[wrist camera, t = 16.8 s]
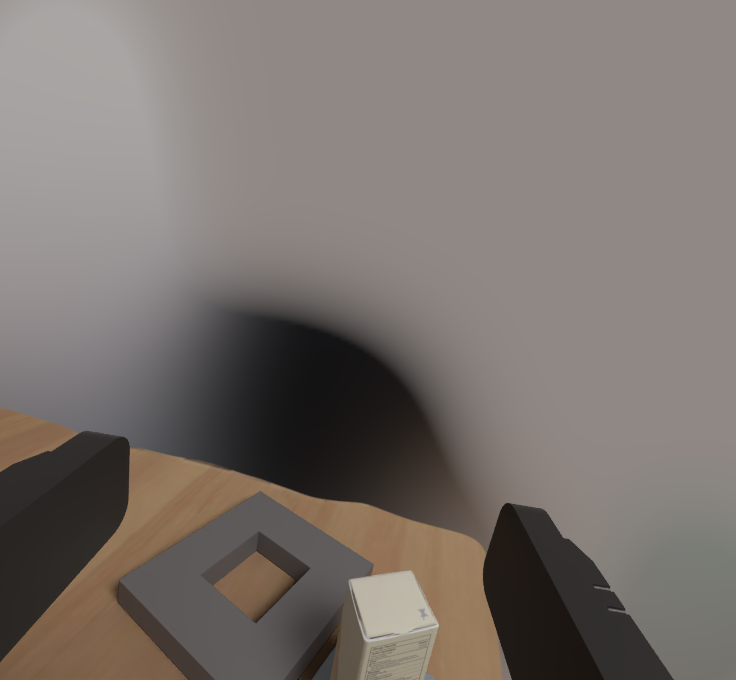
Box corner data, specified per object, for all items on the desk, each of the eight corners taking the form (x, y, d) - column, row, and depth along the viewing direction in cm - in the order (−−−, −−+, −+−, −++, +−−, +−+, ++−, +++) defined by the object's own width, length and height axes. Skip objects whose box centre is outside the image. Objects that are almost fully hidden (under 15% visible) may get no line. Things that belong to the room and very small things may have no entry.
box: (386, 678, 30) (416, 567, 28) (408, 747, 27) (444, 625, 24) (322, 693, 29) (346, 576, 26) (335, 769, 25) (365, 640, 22)
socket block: (118, 603, 33) (118, 580, 32) (258, 508, 46) (260, 491, 46) (248, 745, 26) (252, 719, 25) (369, 583, 39) (373, 564, 39)
